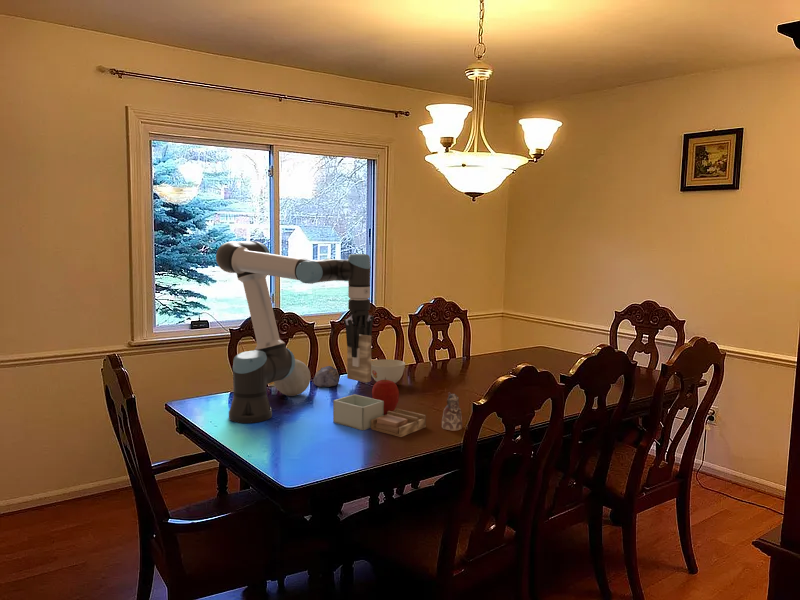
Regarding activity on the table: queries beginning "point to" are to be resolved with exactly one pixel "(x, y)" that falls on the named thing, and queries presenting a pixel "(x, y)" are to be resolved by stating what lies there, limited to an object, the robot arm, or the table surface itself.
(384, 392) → the red ovoid
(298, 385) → the decorative sphere
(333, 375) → the rock
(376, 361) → the bowl
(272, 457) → the table surface
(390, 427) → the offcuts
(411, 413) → the oak rack
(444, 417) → the figurine
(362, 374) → the birch sheet
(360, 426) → the box
